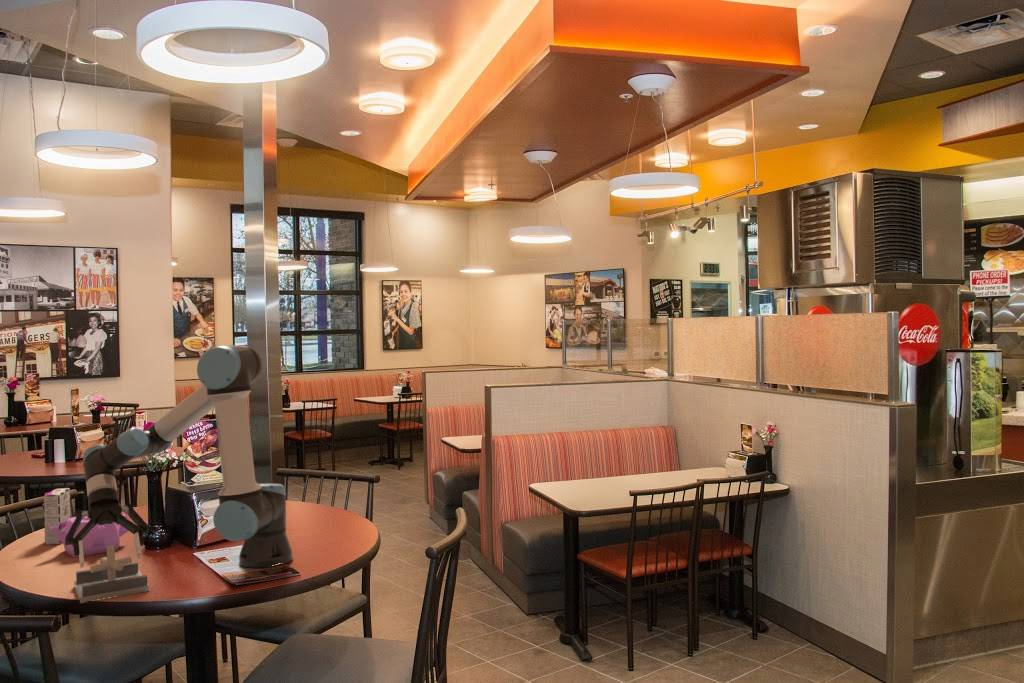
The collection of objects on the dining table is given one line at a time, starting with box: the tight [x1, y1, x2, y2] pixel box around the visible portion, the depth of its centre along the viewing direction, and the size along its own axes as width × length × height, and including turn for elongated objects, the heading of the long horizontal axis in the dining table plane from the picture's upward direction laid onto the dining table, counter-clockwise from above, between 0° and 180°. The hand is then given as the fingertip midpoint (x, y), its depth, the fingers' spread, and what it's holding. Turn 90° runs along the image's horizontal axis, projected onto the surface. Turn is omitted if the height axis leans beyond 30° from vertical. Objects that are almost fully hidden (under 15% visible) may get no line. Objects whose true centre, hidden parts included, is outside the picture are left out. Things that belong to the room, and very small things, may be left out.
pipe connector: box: [89, 545, 133, 581], centre depth 206 cm, size 10×10×10 cm
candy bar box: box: [43, 487, 72, 546], centre depth 256 cm, size 11×5×16 cm, turn 14°
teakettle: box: [50, 513, 129, 558], centre depth 244 cm, size 17×17×12 cm
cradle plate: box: [73, 561, 150, 604], centre depth 206 cm, size 16×16×4 cm
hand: (111, 560), depth 205 cm, fingers open, 13 cm apart
